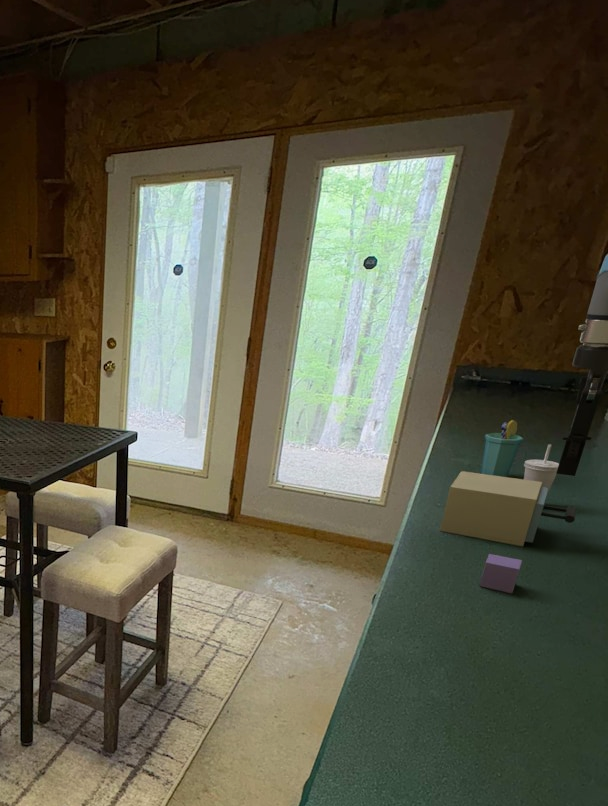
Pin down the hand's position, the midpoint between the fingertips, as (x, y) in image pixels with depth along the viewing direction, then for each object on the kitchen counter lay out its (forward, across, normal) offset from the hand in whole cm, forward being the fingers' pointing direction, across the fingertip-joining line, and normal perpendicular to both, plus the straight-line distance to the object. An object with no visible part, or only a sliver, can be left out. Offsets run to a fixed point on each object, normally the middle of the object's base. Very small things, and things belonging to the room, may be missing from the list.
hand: (565, 473), depth 118 cm
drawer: (+13, 0, -6) cm, 14 cm away
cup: (+14, -42, -13) cm, 46 cm away
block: (+13, +29, -5) cm, 32 cm away
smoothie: (+14, -23, -4) cm, 27 cm away
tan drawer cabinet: (+14, 0, -10) cm, 17 cm away
